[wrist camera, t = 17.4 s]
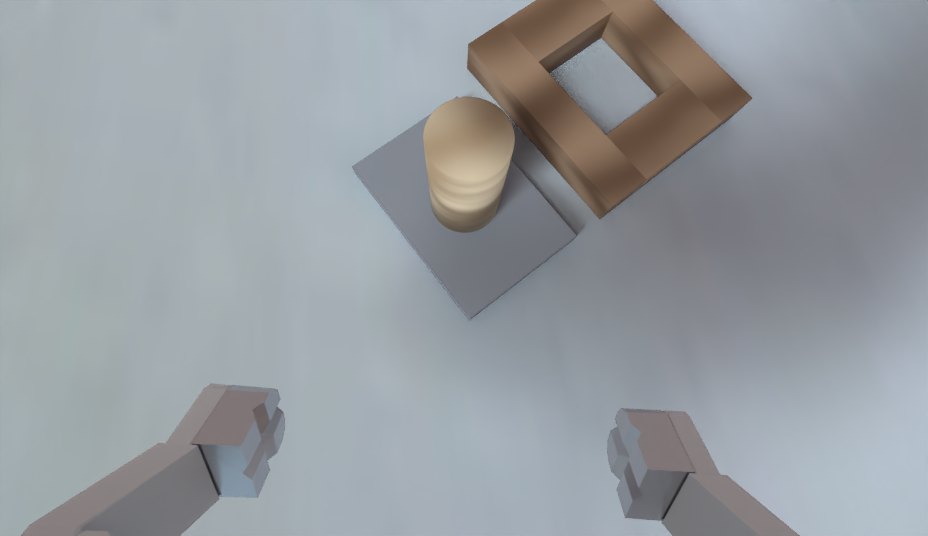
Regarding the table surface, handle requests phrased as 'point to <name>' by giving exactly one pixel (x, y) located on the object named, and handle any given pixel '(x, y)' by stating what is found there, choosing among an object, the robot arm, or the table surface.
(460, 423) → the table surface
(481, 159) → the tan domed cylinder
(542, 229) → the slate mat
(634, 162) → the well board
